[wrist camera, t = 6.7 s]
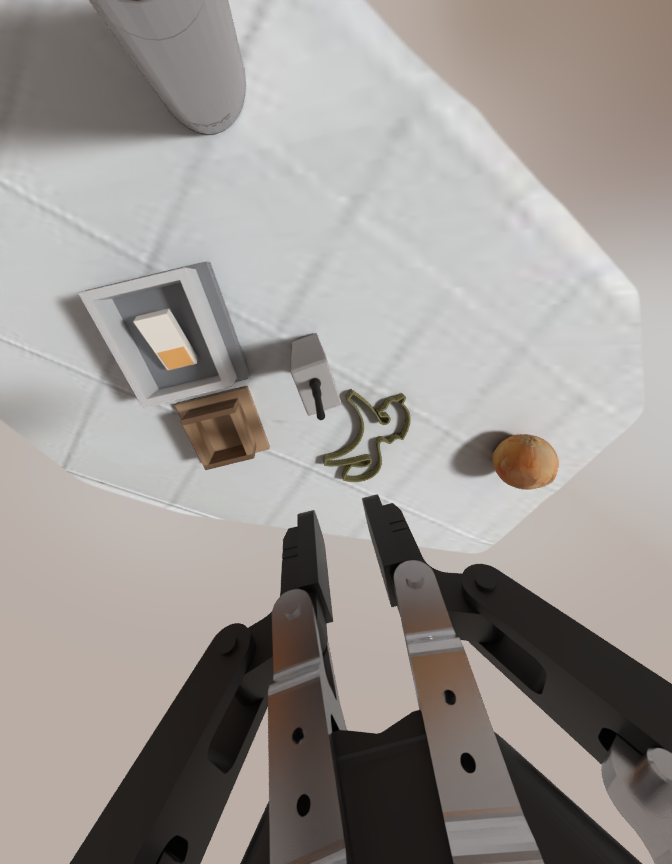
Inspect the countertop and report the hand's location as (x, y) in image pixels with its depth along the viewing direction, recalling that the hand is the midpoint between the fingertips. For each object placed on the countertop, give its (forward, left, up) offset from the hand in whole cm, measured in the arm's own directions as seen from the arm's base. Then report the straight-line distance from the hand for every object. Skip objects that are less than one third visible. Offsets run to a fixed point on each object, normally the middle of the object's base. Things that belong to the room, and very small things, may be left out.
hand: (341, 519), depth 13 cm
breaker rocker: (-7, -17, -31) cm, 36 cm away
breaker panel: (-7, -17, -35) cm, 40 cm away
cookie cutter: (+16, +6, -36) cm, 40 cm away
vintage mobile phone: (0, 0, -35) cm, 35 cm away
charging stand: (+8, -16, -35) cm, 39 cm away
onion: (+26, +32, -35) cm, 54 cm away
